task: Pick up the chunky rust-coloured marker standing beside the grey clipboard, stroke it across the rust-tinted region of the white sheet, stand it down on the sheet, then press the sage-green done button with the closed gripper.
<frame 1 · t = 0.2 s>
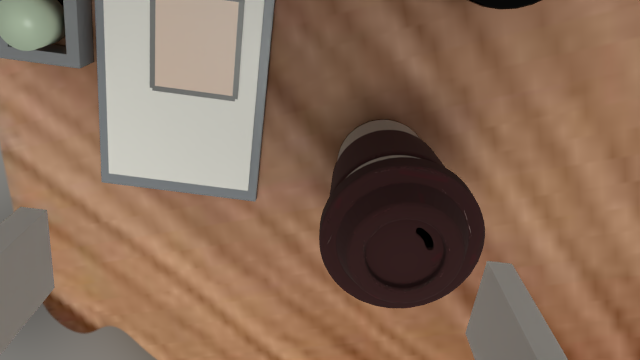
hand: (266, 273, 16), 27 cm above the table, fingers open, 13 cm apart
coffee cup: (380, 158, 44), on the table
done button: (32, 21, 37), point 3 cm above the table, slide at 0.0 cm
button housing: (51, 16, 39), on the table
picture board: (184, 80, 41), on the table
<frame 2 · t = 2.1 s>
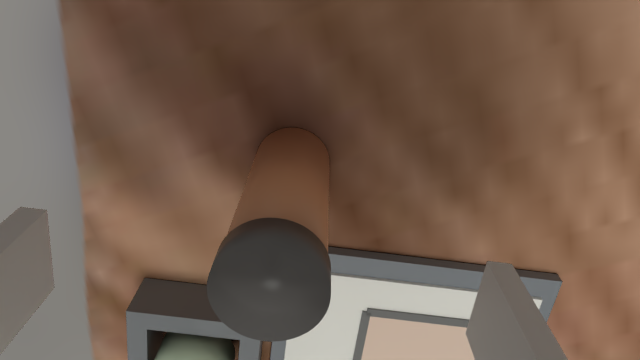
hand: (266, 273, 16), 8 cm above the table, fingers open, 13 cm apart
button housing: (204, 333, 27), on the table
marker: (292, 162, 23), on the table
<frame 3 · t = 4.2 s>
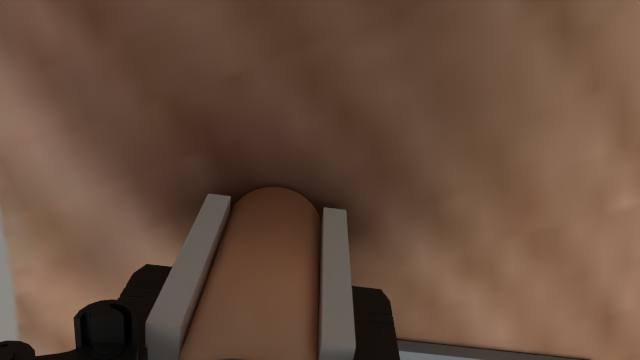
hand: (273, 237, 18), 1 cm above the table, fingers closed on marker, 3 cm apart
marker: (274, 229, 18), on the table, touching gripper
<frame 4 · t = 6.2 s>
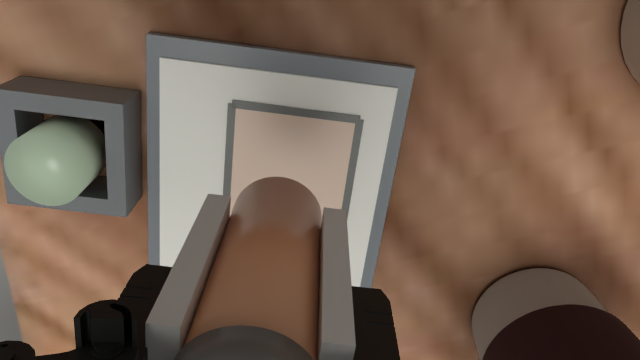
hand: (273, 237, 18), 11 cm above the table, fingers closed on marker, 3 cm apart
coffee cup: (528, 312, 32), on the table
done button: (59, 158, 25), point 3 cm above the table, slide at 0.0 cm
button housing: (84, 138, 28), on the table
picture board: (266, 218, 30), on the table
marker: (277, 217, 19), point 9 cm above the table, touching gripper
when the fingers open (2 cm above the table, at t = 8.5 s): marker stays where it is, resting on picture board.
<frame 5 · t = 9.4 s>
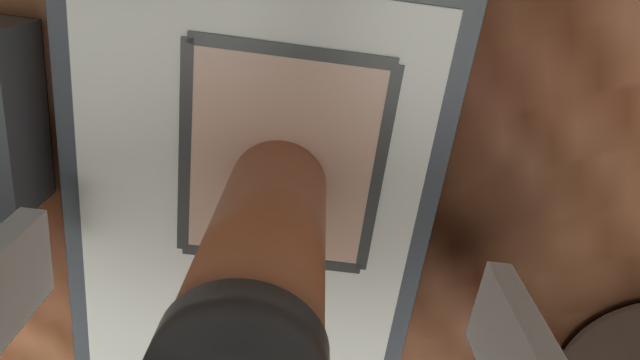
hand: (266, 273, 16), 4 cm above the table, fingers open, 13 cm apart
picture board: (249, 226, 19), on the table
marker: (278, 185, 18), point 1 cm above the table, touching picture board
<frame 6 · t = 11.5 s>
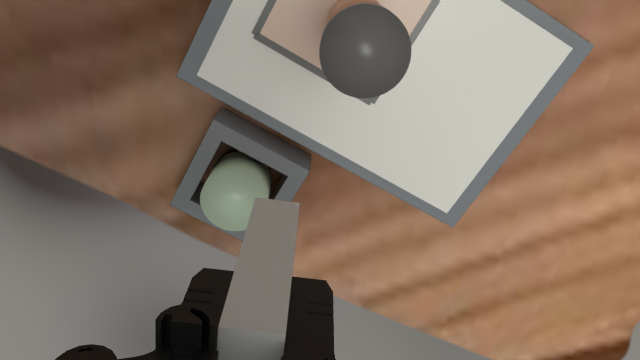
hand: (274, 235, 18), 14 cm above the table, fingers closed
done button: (237, 190, 30), point 3 cm above the table, slide at 0.0 cm
button housing: (244, 171, 32), on the table
picture board: (380, 59, 29), on the table
marker: (356, 25, 28), point 1 cm above the table, touching picture board
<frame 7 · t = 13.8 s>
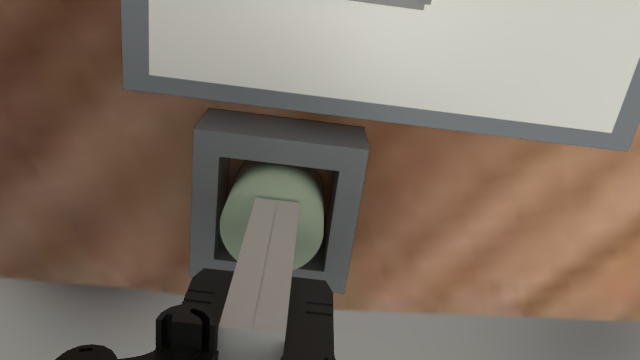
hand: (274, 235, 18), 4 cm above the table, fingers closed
done button: (275, 210, 20), point 2 cm above the table, slide at 0.9 cm, touching gripper
button housing: (279, 188, 21), on the table
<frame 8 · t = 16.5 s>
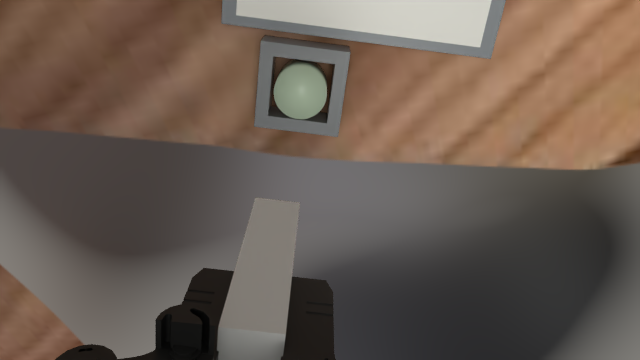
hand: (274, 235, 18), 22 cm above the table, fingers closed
done button: (301, 88, 37), point 2 cm above the table, slide at 1.0 cm
button housing: (302, 82, 38), on the table
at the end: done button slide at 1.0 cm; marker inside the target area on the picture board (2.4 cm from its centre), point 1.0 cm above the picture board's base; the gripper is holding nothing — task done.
